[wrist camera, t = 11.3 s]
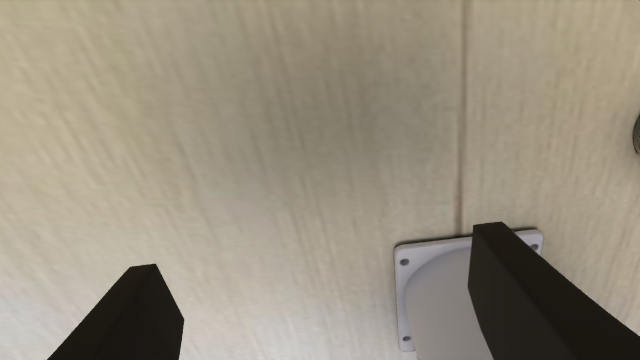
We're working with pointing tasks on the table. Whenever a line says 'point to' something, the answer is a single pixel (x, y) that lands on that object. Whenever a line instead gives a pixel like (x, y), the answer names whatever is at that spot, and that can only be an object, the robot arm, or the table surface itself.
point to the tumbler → (637, 136)
